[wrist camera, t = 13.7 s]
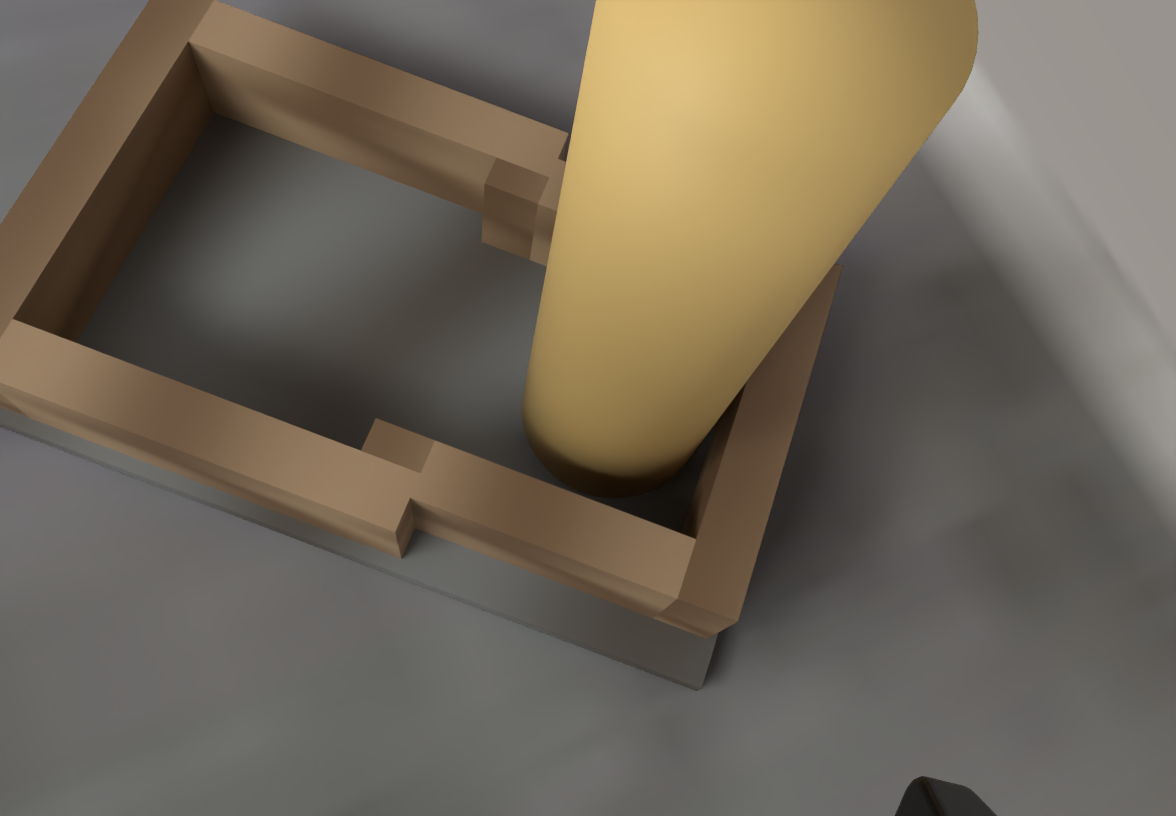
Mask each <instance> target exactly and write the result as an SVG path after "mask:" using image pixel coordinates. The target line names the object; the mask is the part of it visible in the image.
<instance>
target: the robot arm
mask: <svg viewBox="0 0 1176 816" xmlns="http://www.w3.org/2000/svg"><path fill="white" fill-rule="evenodd" d="M895 816H997V815H996V814H995V813H994V812H993V811H992V810H991V809H990V808H989V807H988V806H987V805H986V804H985V803H984V802H983V801H982V800H981V799H980V798H979V797H978V796H977V795H976V794H975V793H974V792H973V791H972V790H971V789H969V788H967V787H965V786H962V785H958V784H954V783H950V782H946V781H942V780H938V779H933V778H929V777H925V776H921V777H919V778H916V779H914V780H913V781H912V782H911V783H910V785H909V786H908V787H907V789H906V791H905V793H904V796H903V798H902V800H901V803H900V805H899V807H898V810H897V812H896V814H895Z"/></svg>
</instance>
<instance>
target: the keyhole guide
mask: <svg viewBox="0 0 1176 816" xmlns="http://www.w3.org/2000/svg"><path fill="white" fill-rule="evenodd" d="M568 135H569V133H567V132H564V131H561V130H559V129H556V128H553V127H551V126H548V125H545V124H543V123H540V122H537V121H535V120H532V119H529V118H527V117H524V116H521V115H519V114H516V113H513V112H511V111H508V110H505V109H503V108H500V107H498V106H495V105H492V104H490V103H487V102H484V101H482V100H479V99H476V98H474V97H471V96H468V95H466V94H463V93H460V92H458V91H455V90H452V89H450V88H447V87H444V86H442V85H439V84H436V83H434V82H431V81H429V80H426V79H423V78H421V77H418V76H415V75H413V74H410V73H407V72H405V71H402V70H399V69H397V68H394V67H391V66H389V65H386V64H383V63H381V62H378V61H375V60H373V59H370V58H367V57H365V56H362V55H359V54H357V53H354V52H352V51H349V50H346V49H344V48H341V47H338V46H336V45H333V44H330V43H328V42H325V41H322V40H320V39H317V38H314V37H312V36H309V35H306V34H304V33H301V32H298V31H296V30H293V29H290V28H288V27H285V26H283V25H280V24H277V23H275V22H272V21H269V20H267V19H264V18H261V17H259V16H256V15H253V14H251V13H248V12H245V11H243V10H240V9H237V8H235V7H232V6H229V5H227V4H224V3H221V2H219V1H216V0H149V2H148V3H147V5H146V6H145V8H144V9H143V11H142V12H141V14H140V15H139V17H138V18H137V20H136V21H135V23H134V24H133V26H132V27H131V29H130V30H129V32H128V33H127V35H126V36H125V38H124V39H123V41H122V42H121V44H120V45H119V47H118V48H117V50H116V51H115V53H114V54H113V56H112V57H111V59H110V60H109V62H108V63H107V65H106V66H105V68H104V69H103V71H102V72H101V74H100V75H99V77H98V78H97V80H96V81H95V83H94V84H93V86H92V87H91V89H90V90H89V92H88V93H87V95H86V96H85V98H84V99H83V101H82V102H81V104H80V106H79V107H78V109H77V110H76V112H75V113H74V115H73V116H72V118H71V119H70V121H69V122H68V124H67V125H66V127H65V128H64V130H63V131H62V133H61V134H60V136H59V137H58V139H57V140H56V142H55V143H54V145H53V146H52V148H51V149H50V151H49V152H48V154H47V155H46V157H45V158H44V160H43V161H42V163H41V164H40V166H39V167H38V169H37V170H36V172H35V173H34V175H33V176H32V178H31V179H30V181H29V182H28V184H27V185H26V187H25V188H24V190H23V191H22V193H21V194H20V196H19V197H18V199H17V200H16V202H15V203H14V205H13V206H12V208H11V209H10V211H9V213H8V214H7V216H6V217H5V219H4V220H3V222H2V223H1V225H0V427H2V428H5V429H8V430H10V431H13V432H16V433H18V434H21V435H24V436H26V437H29V438H31V439H34V440H37V441H39V442H42V443H45V444H47V445H50V446H53V447H55V448H58V449H61V450H63V451H66V452H68V453H71V454H74V455H76V456H79V457H82V458H84V459H87V460H90V461H92V462H95V463H97V464H100V465H103V466H105V467H108V468H111V469H113V470H116V471H119V472H121V473H124V474H126V475H129V476H132V477H134V478H137V479H140V480H142V481H145V482H148V483H150V484H153V485H155V486H158V487H161V488H163V489H166V490H169V491H171V492H174V493H177V494H179V495H182V496H184V497H187V498H190V499H192V500H195V501H198V502H200V503H203V504H206V505H208V506H211V507H213V508H216V509H219V510H221V511H224V512H227V513H229V514H232V515H235V516H237V517H240V518H242V519H245V520H248V521H250V522H253V523H256V524H258V525H261V526H264V527H266V528H269V529H271V530H274V531H277V532H279V533H282V534H285V535H287V536H290V537H293V538H295V539H298V540H300V541H303V542H306V543H308V544H311V545H314V546H316V547H319V548H322V549H324V550H327V551H329V552H332V553H335V554H337V555H340V556H343V557H345V558H348V559H351V560H353V561H356V562H358V563H361V564H364V565H366V566H369V567H372V568H374V569H377V570H380V571H382V572H385V573H387V574H390V575H393V576H395V577H398V578H401V579H403V580H406V581H409V582H411V583H414V584H416V585H419V586H422V587H424V588H427V589H430V590H432V591H435V592H438V593H440V594H443V595H445V596H448V597H451V598H453V599H456V600H459V601H461V602H464V603H467V604H469V605H472V606H474V607H477V608H480V609H482V610H485V611H488V612H490V613H493V614H496V615H498V616H501V617H503V618H506V619H509V620H511V621H514V622H517V623H519V624H522V625H525V626H527V627H530V628H532V629H535V630H538V631H540V632H543V633H546V634H548V635H551V636H554V637H556V638H559V639H561V640H564V641H567V642H569V643H572V644H575V645H577V646H580V647H583V648H585V649H588V650H591V651H593V652H596V653H598V654H601V655H604V656H606V657H609V658H612V659H614V660H617V661H620V662H622V663H625V664H627V665H630V666H633V667H635V668H638V669H641V670H643V671H646V672H649V673H651V674H654V675H656V676H659V677H662V678H664V679H667V680H670V681H672V682H675V683H678V684H680V685H683V686H685V687H688V688H691V689H693V690H696V691H697V690H700V689H702V686H703V683H704V680H705V676H706V673H707V670H708V666H709V663H710V660H711V656H712V653H713V650H714V646H715V643H716V640H717V636H718V633H719V632H720V631H722V630H724V629H725V628H727V627H729V626H731V625H733V624H735V623H736V622H738V620H739V616H740V613H741V609H742V606H743V603H744V599H745V596H746V592H747V589H748V586H749V582H750V579H751V576H752V572H753V569H754V565H755V562H756V559H757V555H758V552H759V548H760V545H761V542H762V538H763V535H764V531H765V528H766V525H767V521H768V518H769V514H770V511H771V508H772V504H773V501H774V498H775V494H776V491H777V487H778V484H779V481H780V477H781V474H782V470H783V467H784V464H785V460H786V457H787V453H788V450H789V447H790V443H791V440H792V437H793V433H794V430H795V426H796V423H797V420H798V416H799V413H800V409H801V406H802V403H803V399H804V396H805V392H806V389H807V386H808V382H809V379H810V376H811V372H812V369H813V365H814V362H815V359H816V355H817V352H818V348H819V345H820V342H821V338H822V335H823V331H824V328H825V325H826V321H827V318H828V315H829V311H830V308H831V304H832V301H833V298H834V294H835V291H836V287H837V284H838V281H839V277H840V274H841V270H842V267H843V266H841V265H838V264H835V263H834V265H833V266H832V267H831V269H830V270H829V271H828V273H827V274H826V275H825V277H824V278H823V279H822V281H821V282H820V283H819V285H818V286H817V288H816V289H815V290H814V292H813V293H812V294H811V296H810V297H809V298H808V300H807V301H806V302H805V304H804V305H803V306H802V308H801V309H800V310H799V312H798V313H797V314H796V316H795V317H794V318H793V320H792V321H791V322H790V324H789V325H788V326H787V328H786V329H785V331H784V332H783V333H782V335H781V336H780V337H779V339H778V340H777V341H776V343H775V344H774V345H773V347H772V348H771V349H770V351H769V352H768V353H767V355H766V356H765V357H764V359H763V360H762V361H761V363H760V364H759V365H758V367H757V368H756V369H755V371H754V372H753V374H752V375H751V376H750V378H749V379H748V380H747V382H746V383H745V384H744V386H743V387H742V388H741V390H740V391H739V392H738V394H737V395H736V396H735V398H734V399H733V400H732V402H731V403H730V404H729V406H728V407H727V408H726V410H725V411H724V412H723V414H722V415H721V417H720V418H719V419H718V421H717V422H716V423H715V425H714V426H713V427H712V429H711V430H710V431H709V433H708V434H707V435H706V437H705V438H704V439H703V441H702V442H701V443H700V445H699V446H698V447H697V449H696V450H695V451H694V453H693V454H692V455H691V457H690V458H689V460H688V461H687V462H686V464H685V465H684V466H683V468H682V469H681V470H680V471H679V472H678V473H677V474H676V475H675V476H674V477H673V478H671V479H670V480H669V481H668V482H667V483H665V484H663V485H662V486H660V487H658V488H657V489H655V490H652V491H650V492H648V493H645V494H642V495H638V496H635V497H628V498H603V497H597V496H593V495H589V494H585V493H583V492H580V491H578V490H575V489H573V488H571V487H570V486H568V485H566V484H564V483H563V482H561V481H560V480H559V479H557V478H556V477H555V476H553V475H552V474H551V473H550V472H549V471H548V470H547V469H546V468H545V467H544V466H543V464H542V463H541V462H540V461H539V459H538V458H537V456H536V455H535V453H534V452H533V450H532V448H531V446H530V444H529V442H528V439H527V436H526V433H525V430H524V425H523V419H522V400H523V392H524V387H525V382H526V376H527V371H528V366H529V360H530V355H531V349H532V344H533V339H534V333H535V328H536V322H537V317H538V312H539V306H540V301H541V295H542V290H543V285H544V279H545V274H546V269H547V263H548V258H549V252H550V247H551V242H552V236H553V231H554V225H555V220H556V215H557V209H558V204H559V198H560V193H561V188H562V182H563V177H564V172H565V166H566V162H565V161H564V157H565V152H566V146H567V140H568Z"/></svg>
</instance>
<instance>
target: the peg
mask: <svg viewBox="0 0 1176 816" xmlns="http://www.w3.org/2000/svg"><path fill="white" fill-rule="evenodd" d="M977 42H978V19H977V10H976V5H975V1H974V0H596V5H595V10H594V15H593V21H592V26H591V31H590V37H589V42H588V48H587V53H586V58H585V64H584V69H583V75H582V80H581V85H580V91H579V96H578V102H577V107H576V112H575V118H574V123H573V128H572V134H571V139H570V145H569V150H568V155H567V161H566V166H565V172H564V177H563V182H562V188H561V193H560V198H559V204H558V209H557V215H556V220H555V225H554V231H553V236H552V242H551V247H550V252H549V258H548V263H547V269H546V274H545V279H544V285H543V290H542V295H541V301H540V306H539V312H538V317H537V322H536V328H535V333H534V339H533V344H532V349H531V355H530V360H529V366H528V371H527V376H526V382H525V387H524V392H523V400H522V419H523V425H524V430H525V433H526V436H527V439H528V442H529V444H530V446H531V448H532V450H533V452H534V453H535V455H536V456H537V458H538V459H539V461H540V462H541V463H542V464H543V466H544V467H545V468H546V469H547V470H548V471H549V472H550V473H551V474H552V475H553V476H555V477H556V478H557V479H559V480H560V481H561V482H563V483H564V484H566V485H568V486H570V487H571V488H573V489H575V490H578V491H580V492H583V493H585V494H589V495H593V496H597V497H603V498H628V497H635V496H638V495H642V494H645V493H648V492H650V491H652V490H655V489H657V488H658V487H660V486H662V485H663V484H665V483H667V482H668V481H669V480H670V479H671V478H673V477H674V476H675V475H676V474H677V473H678V472H679V471H680V470H681V469H682V468H683V466H684V465H685V464H686V462H687V461H688V460H689V458H690V457H691V455H692V454H693V453H694V451H695V450H696V449H697V447H698V446H699V445H700V443H701V442H702V441H703V439H704V438H705V437H706V435H707V434H708V433H709V431H710V430H711V429H712V427H713V426H714V425H715V423H716V422H717V421H718V419H719V418H720V417H721V415H722V414H723V412H724V411H725V410H726V408H727V407H728V406H729V404H730V403H731V402H732V400H733V399H734V398H735V396H736V395H737V394H738V392H739V391H740V390H741V388H742V387H743V386H744V384H745V383H746V382H747V380H748V379H749V378H750V376H751V375H752V374H753V372H754V371H755V369H756V368H757V367H758V365H759V364H760V363H761V361H762V360H763V359H764V357H765V356H766V355H767V353H768V352H769V351H770V349H771V348H772V347H773V345H774V344H775V343H776V341H777V340H778V339H779V337H780V336H781V335H782V333H783V332H784V331H785V329H786V328H787V326H788V325H789V324H790V322H791V321H792V320H793V318H794V317H795V316H796V314H797V313H798V312H799V310H800V309H801V308H802V306H803V305H804V304H805V302H806V301H807V300H808V298H809V297H810V296H811V294H812V293H813V292H814V290H815V289H816V288H817V286H818V285H819V283H820V282H821V281H822V279H823V278H824V277H825V275H826V274H827V273H828V271H829V270H830V269H831V267H832V266H833V265H834V263H835V262H836V261H837V259H838V258H839V257H840V255H841V254H842V253H843V251H844V250H845V249H846V247H847V246H848V245H849V243H850V242H851V240H852V239H853V238H854V236H855V235H856V234H857V232H858V231H859V230H860V228H861V227H862V226H863V224H864V223H865V222H866V220H867V219H868V218H869V216H870V215H871V214H872V212H873V211H874V210H875V208H876V207H877V206H878V204H879V203H880V202H881V200H882V199H883V197H884V196H885V195H886V193H887V192H888V191H889V189H890V188H891V187H892V185H893V184H894V183H895V181H896V180H897V179H898V177H899V176H900V175H901V173H902V172H903V171H904V169H905V168H906V167H907V165H908V164H909V163H910V161H911V160H912V159H913V157H914V156H915V154H916V153H917V152H918V150H919V149H920V148H921V146H922V145H923V144H924V142H925V141H926V140H927V138H928V137H929V136H930V134H931V133H932V132H933V130H934V129H935V128H936V126H937V125H938V124H939V122H940V121H941V120H942V118H943V117H944V116H945V114H946V113H947V111H948V110H949V109H950V107H951V106H952V105H953V103H954V102H955V100H956V99H957V97H958V96H959V94H960V93H961V92H962V90H963V88H964V86H965V84H966V82H967V80H968V78H969V75H970V73H971V71H972V67H973V63H974V60H975V56H976V52H977Z"/></svg>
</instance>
